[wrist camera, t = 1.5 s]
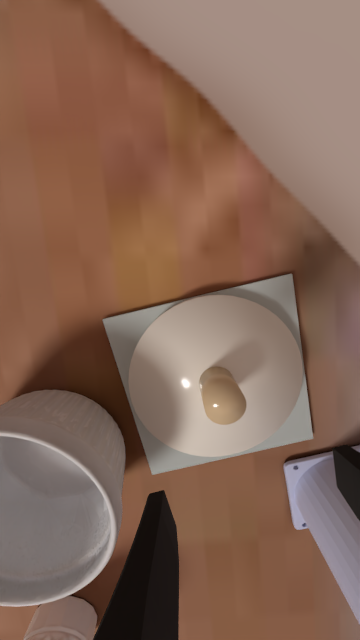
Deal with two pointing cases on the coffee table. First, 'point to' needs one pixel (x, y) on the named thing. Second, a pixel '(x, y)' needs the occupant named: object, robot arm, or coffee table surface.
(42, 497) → the ramekin
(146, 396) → the lid
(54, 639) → the white cup
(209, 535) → the coffee table surface
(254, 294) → the mat
